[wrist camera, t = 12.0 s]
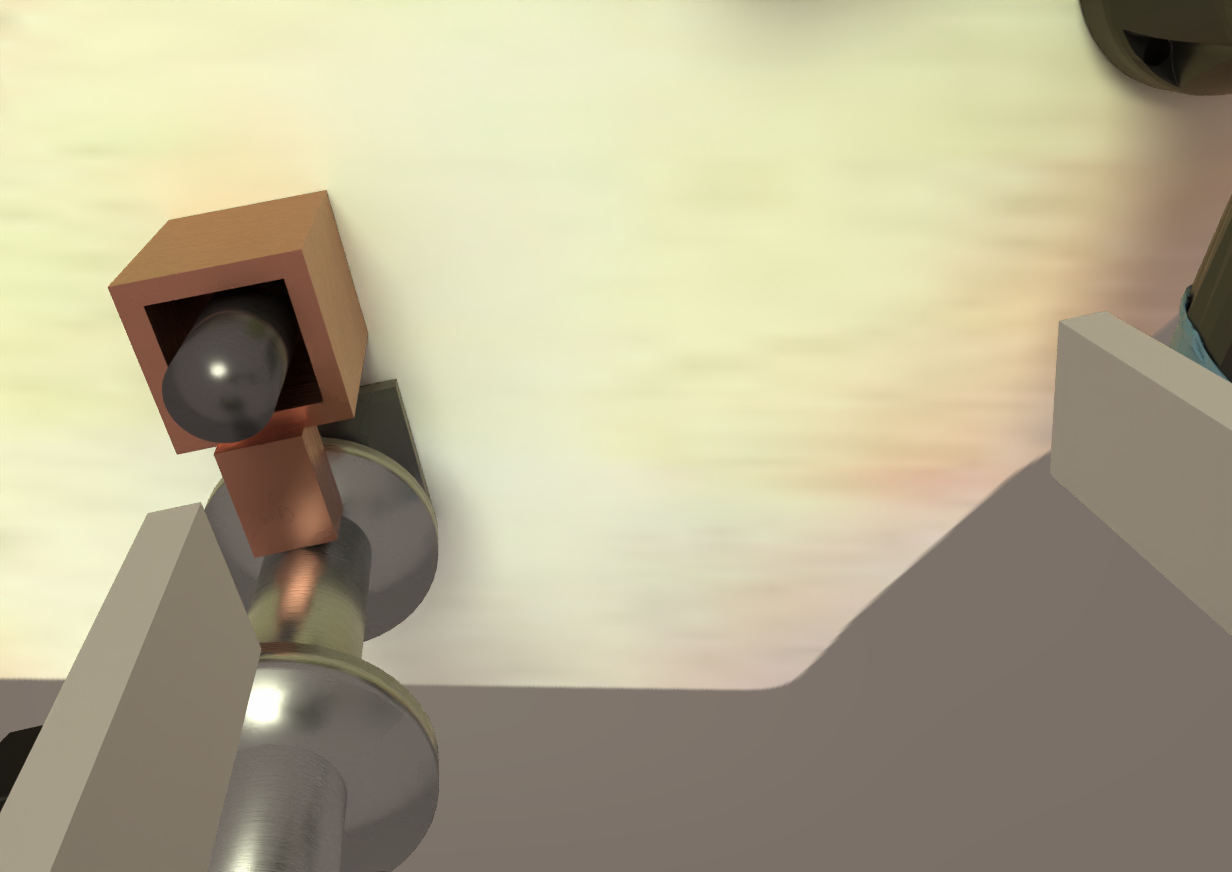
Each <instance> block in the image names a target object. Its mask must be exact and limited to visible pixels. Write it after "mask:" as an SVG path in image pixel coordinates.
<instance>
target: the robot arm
mask: <svg viewBox="0 0 1232 872" xmlns="http://www.w3.org/2000/svg"><path fill="white" fill-rule="evenodd" d="M1081 4H1082V8H1083V12H1084V15H1085V18H1086V21H1087V24H1088V26H1089V29H1090V31H1091V33H1092V35H1093V37H1094V39H1095V41H1096V43H1097V44H1098V46H1099V47H1100V49H1101V50H1102V52H1103V53H1104V54H1105V55H1106V56H1107V58H1108V59H1109V60H1110V61H1111V62H1112V63H1113V64H1114V65H1115V66H1116V67H1117V68H1119V69H1120V70H1121V71H1122V72H1124V73H1125V74H1127V75H1128V76H1130V77H1131V78H1133V79H1135V80H1137V81H1139V82H1141V83H1144V84H1146V85H1149V86H1152V87H1156V88H1160V89H1165V90H1169V91H1174V92H1178V93H1183V94H1188V95H1199V96H1213V95H1226V94H1232V0H1081ZM1050 474H1051V475H1052V476H1053V477H1054V478H1055V479H1056V480H1057V481H1058V482H1060V483H1061V484H1062V485H1063V486H1064V487H1065V488H1066V489H1067V490H1068V491H1070V492H1071V493H1072V494H1073V495H1074V496H1075V497H1076V498H1077V499H1079V500H1080V501H1081V502H1082V503H1083V504H1084V505H1085V506H1086V507H1088V508H1089V509H1090V510H1091V511H1092V512H1093V513H1094V514H1095V515H1097V516H1098V517H1099V518H1100V519H1101V520H1102V521H1103V522H1104V523H1105V524H1107V525H1108V526H1109V527H1110V528H1111V529H1112V530H1113V531H1114V532H1116V533H1117V534H1118V535H1119V536H1120V537H1121V538H1122V539H1123V540H1124V541H1126V542H1127V543H1128V544H1129V545H1130V546H1131V547H1132V548H1134V549H1135V550H1136V551H1137V552H1138V553H1139V554H1140V555H1141V556H1142V557H1144V558H1145V559H1146V560H1147V561H1148V562H1149V563H1150V564H1151V565H1153V566H1154V567H1155V568H1156V569H1157V570H1158V571H1159V572H1161V573H1162V574H1163V575H1164V576H1165V577H1166V578H1167V579H1168V580H1169V581H1170V582H1172V583H1173V584H1174V585H1175V586H1176V587H1177V588H1178V589H1179V590H1180V591H1182V592H1183V593H1184V594H1185V595H1186V596H1187V597H1188V598H1189V599H1191V600H1192V601H1193V602H1194V603H1195V604H1196V605H1197V606H1198V607H1200V608H1201V609H1202V610H1203V611H1204V612H1205V613H1206V614H1207V615H1208V616H1210V617H1211V618H1212V619H1213V620H1214V621H1215V622H1216V623H1217V624H1219V625H1220V626H1221V627H1222V628H1223V629H1224V630H1225V631H1226V632H1228V633H1229V634H1230V635H1231V636H1232V195H1231V197H1230V199H1229V202H1228V204H1227V206H1226V208H1225V211H1224V213H1223V215H1222V218H1221V220H1220V222H1219V225H1218V227H1217V229H1216V232H1215V234H1214V236H1213V239H1212V241H1211V243H1210V246H1209V248H1208V250H1207V253H1206V255H1205V257H1204V259H1203V262H1202V264H1201V266H1200V269H1199V271H1198V273H1197V276H1196V278H1195V280H1194V283H1193V284H1192V285H1190V286H1189V287H1187V289H1186V291H1185V293H1184V295H1183V297H1182V299H1181V303H1180V319H1179V322H1178V325H1177V327H1176V330H1175V333H1174V335H1173V338H1172V341H1171V343H1170V346H1169V347H1168V346H1166V345H1164V344H1162V343H1161V342H1159V341H1157V340H1155V339H1154V338H1152V337H1150V336H1149V335H1147V334H1145V333H1143V332H1142V331H1140V330H1138V329H1136V328H1135V327H1133V326H1131V325H1129V324H1128V323H1126V322H1124V321H1122V320H1121V319H1119V318H1117V317H1115V316H1114V315H1112V314H1110V313H1108V312H1107V311H1104V312H1099V313H1094V314H1090V315H1085V316H1080V317H1075V318H1071V319H1066V320H1061V321H1059V329H1058V346H1057V363H1056V380H1055V397H1054V413H1053V430H1052V447H1051V465H1050ZM260 653H261V647H260V644H259V642H258V639H257V637H256V635H255V632H254V630H253V627H252V625H251V622H250V620H249V618H248V615H247V613H246V610H245V608H244V605H243V603H242V601H241V598H240V596H239V593H238V591H237V588H236V586H235V584H234V581H233V579H232V576H231V574H230V571H229V569H228V567H227V564H226V562H225V559H224V557H223V554H222V552H221V549H220V547H219V545H218V542H217V540H216V537H215V535H214V532H213V530H212V528H211V525H210V523H209V520H208V518H207V515H206V513H205V511H204V508H203V506H202V503H201V502H199V503H194V504H190V505H185V506H180V507H175V508H171V509H166V510H161V511H156V512H152V513H148V514H147V516H146V518H145V520H144V522H143V524H142V526H141V528H140V530H139V532H138V534H137V536H136V538H135V540H134V542H133V544H132V546H131V548H130V550H129V552H128V554H127V556H126V558H125V560H124V562H123V564H122V566H121V568H120V570H119V573H118V575H117V577H116V579H115V581H114V583H113V585H112V587H111V589H110V591H109V593H108V595H107V597H106V599H105V601H104V603H103V605H102V607H101V609H100V611H99V613H98V615H97V617H96V619H95V621H94V623H93V625H92V627H91V629H90V631H89V633H88V636H87V638H86V640H85V642H84V644H83V646H82V648H81V650H80V652H79V654H78V656H77V658H76V660H75V662H74V664H73V666H72V668H71V670H70V672H69V674H68V676H67V678H66V680H65V683H64V684H63V686H62V689H61V690H60V693H59V694H58V696H57V699H56V701H55V703H54V705H53V707H52V709H51V711H50V713H49V715H48V717H47V719H46V721H45V723H44V725H41V726H37V727H33V728H28V729H24V730H19V731H15V732H11V733H9V734H8V735H7V736H6V737H5V738H4V739H3V740H2V741H1V742H0V872H208V868H209V864H210V860H211V855H212V851H213V847H214V843H215V839H216V835H217V831H218V827H219V822H220V818H221V814H222V810H223V806H224V802H225V798H226V794H227V789H228V785H229V781H230V777H231V773H232V769H233V765H234V760H235V756H236V752H237V748H238V744H239V740H240V736H241V732H242V727H243V723H244V719H245V715H246V711H247V707H248V703H249V699H250V694H251V690H252V686H253V682H254V678H255V674H256V670H257V665H258V661H259V657H260Z"/></svg>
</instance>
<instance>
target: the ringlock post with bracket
mask: <svg viewBox="0 0 1232 872" xmlns="http://www.w3.org/2000/svg"><path fill="white" fill-rule="evenodd" d="M279 279H284V280H285V283H286V287H287V290H288V293H289V296H290V299H291V302H292V305H293V308H294V311H295V314H296V317H297V320H298V323H299V327H300V330H301V331H300V334H299V337H298V340H297V343H296V346H295V349H294V352H293V355H292V358H291V361H290V364H289V367H288V371H287V374H286V377H285V380H284V383H283V386H282V389H281V392H280V395H279V398H278V401H277V404H276V407H275V410H274V412H273V415H272V417H271V419H270V421H269V422H268V424H267V425H266V426H265V427H264V428H263V429H262V430H261V431H260V432H258V433H257V434H256V435H254V436H252V437H250V438H248V439H245V440H242V441H239V442H233V443H215V442H210V441H206V440H203V439H200V438H198V437H195V436H193V435H191V434H190V433H188V432H187V431H185V430H184V429H182V428H181V427H180V426H179V425H178V424H177V423H176V422H175V421H174V420H173V419H172V417H171V416H170V414H169V413H168V411H167V409H166V407H165V404H164V401H163V396H162V382H163V378H164V375H165V372H166V370H167V368H168V367H169V365H170V363H171V362H172V360H173V358H174V357H175V355H176V353H177V352H178V350H179V348H180V347H181V345H182V343H183V342H184V340H185V339H186V337H187V335H188V334H189V332H190V330H191V329H192V327H193V325H194V324H195V322H196V320H197V319H198V317H199V315H200V314H201V312H202V310H203V309H204V307H205V305H206V304H207V302H208V301H209V299H210V297H211V296H212V294H213V292H218V291H223V290H228V289H233V288H238V287H243V286H248V285H253V284H258V283H263V282H268V281H273V280H279ZM108 289H109V292H110V294H111V296H112V299H113V301H114V304H115V306H116V308H117V311H118V313H119V316H120V318H121V321H122V323H123V325H124V328H125V330H126V333H127V335H128V337H129V340H130V342H131V345H132V347H133V350H134V352H135V354H136V357H137V359H138V362H139V364H140V366H141V369H142V371H143V374H144V376H145V378H146V381H147V383H148V386H149V388H150V391H151V393H152V395H153V398H154V400H155V403H156V405H157V407H158V410H159V412H160V415H161V417H162V420H163V422H164V424H165V427H166V429H167V432H168V434H169V436H170V439H171V441H172V444H173V446H174V449H175V451H176V453H177V454H182V453H187V452H192V451H197V450H202V449H206V448H211V447H216V446H217V448H216V450H215V452H214V456H215V459H216V461H217V464H218V466H219V469H220V471H221V474H222V479H221V480H220V481H219V483H218V484H217V485H216V487H215V488H214V490H213V492H212V494H211V496H210V498H209V499H208V502H207V504H206V507H205V509H204V511H205V513H206V515H207V518H208V520H209V523H210V525H211V528H212V530H213V532H214V535H215V537H216V540H217V542H218V545H219V547H220V549H221V552H222V554H223V557H224V559H225V562H226V564H227V567H228V569H229V571H230V574H231V576H232V579H233V581H234V584H235V586H236V588H237V591H238V593H239V596H240V598H241V601H242V603H243V605H244V608H245V610H246V613H247V615H248V618H249V620H250V622H251V625H252V627H253V630H254V632H255V635H256V637H257V639H258V642H259V644H260V647H261V653H260V657H259V661H258V665H257V670H256V674H255V678H254V682H253V686H252V690H251V694H250V699H249V703H248V707H247V711H246V715H245V719H244V723H243V727H242V732H241V736H240V740H239V744H238V748H237V752H236V756H235V760H234V765H233V769H232V773H231V777H230V781H229V785H228V789H227V794H226V798H225V802H224V806H223V810H222V814H221V818H220V822H219V827H218V831H217V835H216V839H215V843H214V847H213V851H212V855H211V860H210V864H209V868H208V872H391V871H393V870H394V869H395V868H396V867H398V866H399V865H400V864H401V863H402V862H404V861H405V860H406V859H407V858H408V856H409V855H410V854H411V853H412V852H413V851H414V850H415V849H416V848H417V846H418V845H419V843H420V842H421V840H422V839H423V838H424V836H425V834H426V832H427V831H428V829H429V827H430V824H431V823H432V820H433V817H434V814H435V811H436V807H437V801H438V793H439V759H438V745H437V741H436V737H435V732H434V730H433V727H432V725H431V723H430V720H429V718H428V716H427V715H426V713H425V712H424V710H423V708H422V707H421V705H420V704H419V702H418V701H417V700H416V699H415V698H414V696H413V695H412V694H411V693H410V692H409V691H408V690H407V689H406V688H405V687H404V686H403V685H401V684H400V683H399V682H398V681H397V680H396V679H395V678H393V677H392V676H390V675H389V674H387V673H386V672H384V671H383V670H381V669H380V668H378V667H376V666H374V665H372V664H370V663H368V662H366V661H364V660H362V649H363V642H364V641H367V640H370V639H372V638H375V637H377V636H380V635H381V634H383V633H385V632H387V631H389V630H391V629H392V628H394V627H395V626H397V625H398V624H400V623H401V622H402V621H404V620H405V619H406V618H407V617H408V616H409V615H410V614H411V613H412V612H413V611H414V610H415V609H416V608H417V607H418V605H419V604H420V603H421V602H422V600H423V599H424V597H425V596H426V594H427V592H428V591H429V588H430V586H431V584H432V582H433V579H434V576H435V572H436V568H437V561H438V527H437V521H436V517H435V513H434V510H433V507H432V503H431V500H430V496H429V493H428V489H427V486H426V482H425V479H424V475H423V471H422V468H421V464H420V461H419V457H418V454H417V450H416V447H415V443H414V440H413V436H412V433H411V429H410V426H409V422H408V419H407V415H406V412H405V408H404V404H403V401H402V397H401V394H400V390H399V387H398V383H397V380H396V379H394V380H389V381H384V382H379V383H374V384H369V385H365V386H360V380H361V374H362V368H363V362H364V356H365V350H366V344H367V338H368V332H367V328H366V325H365V321H364V318H363V314H362V311H361V308H360V304H359V301H358V297H357V294H356V290H355V287H354V284H353V280H352V277H351V273H350V270H349V266H348V263H347V260H346V256H345V253H344V249H343V246H342V242H341V239H340V236H339V232H338V229H337V225H336V222H335V218H334V215H333V212H332V208H331V205H330V201H329V198H328V194H327V191H326V190H324V191H319V192H314V193H309V194H303V195H298V196H293V197H288V198H283V199H277V200H272V201H267V202H262V203H256V204H251V205H246V206H241V207H236V208H230V209H225V210H220V211H215V212H209V213H204V214H199V215H194V216H189V217H183V218H178V219H173V220H168V221H167V223H166V224H165V225H164V226H163V227H162V228H161V229H160V230H159V231H158V232H157V234H156V235H155V236H154V237H153V238H152V239H151V240H150V241H149V242H148V243H147V245H146V246H145V247H144V248H143V249H142V250H141V251H140V252H139V253H138V254H137V256H136V257H135V258H134V259H133V260H132V261H131V262H130V263H129V264H128V265H127V266H126V268H125V269H124V270H123V271H122V272H121V273H120V274H119V275H118V276H117V277H116V279H115V280H114V281H113V282H112V283H111V284H110V285H109V286H108ZM359 386H360V387H359Z"/></svg>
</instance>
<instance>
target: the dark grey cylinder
mask: <svg viewBox="0 0 1232 872" xmlns="http://www.w3.org/2000/svg"><path fill="white" fill-rule="evenodd" d="M300 331H301V330H300V327H299V323H298V320H297V317H296V314H295V311H294V308H293V305H292V302H291V299H290V296H289V293H288V290H287V287H286V283H285V280H284V279H279V280H273V281H268V282H263V283H258V284H253V285H248V286H243V287H238V288H233V289H228V290H223V291H218V292H213V294H212V296H211V297H210V299H209V301H208V302H207V304H206V305H205V307H204V309H203V310H202V312H201V314H200V315H199V317H198V319H197V320H196V322H195V324H194V325H193V327H192V329H191V330H190V332H189V334H188V335H187V337H186V339H185V340H184V342H183V343H182V345H181V347H180V348H179V350H178V352H177V353H176V355H175V357H174V358H173V360H172V362H171V363H170V365H169V367H168V368H167V370H166V372H165V375H164V378H163V382H162V396H163V401H164V404H165V407H166V409H167V411H168V413H169V414H170V416H171V417H172V419H173V420H174V421H175V422H176V423H177V424H178V425H179V426H180V427H181V428H182V429H184V430H185V431H187V432H188V433H190V434H191V435H193V436H195V437H198V438H200V439H203V440H206V441H210V442H215V443H233V442H239V441H242V440H245V439H248V438H250V437H252V436H254V435H256V434H257V433H258V432H260V431H261V430H262V429H263V428H264V427H265V426H266V425H267V424H268V422H269V421H270V419H271V417H272V415H273V412H274V410H275V407H276V404H277V401H278V398H279V395H280V392H281V389H282V386H283V383H284V380H285V377H286V374H287V371H288V367H289V364H290V361H291V358H292V355H293V352H294V349H295V346H296V343H297V340H298V337H299V334H300Z"/></svg>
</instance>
